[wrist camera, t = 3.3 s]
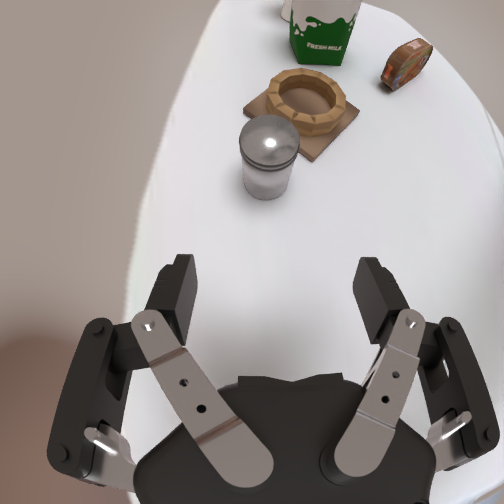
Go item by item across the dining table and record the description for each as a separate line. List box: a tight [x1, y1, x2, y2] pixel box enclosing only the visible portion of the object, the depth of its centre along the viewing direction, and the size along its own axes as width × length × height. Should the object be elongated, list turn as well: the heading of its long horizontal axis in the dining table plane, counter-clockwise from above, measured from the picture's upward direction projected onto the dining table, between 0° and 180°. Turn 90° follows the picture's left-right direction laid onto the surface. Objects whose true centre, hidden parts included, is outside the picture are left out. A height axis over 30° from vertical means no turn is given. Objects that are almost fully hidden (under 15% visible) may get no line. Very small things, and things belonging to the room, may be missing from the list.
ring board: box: [243, 68, 360, 162], centre depth 30 cm, size 11×11×4 cm
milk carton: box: [290, 0, 362, 66], centre depth 24 cm, size 9×9×20 cm
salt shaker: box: [239, 115, 300, 200], centre depth 26 cm, size 5×5×9 cm
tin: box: [381, 38, 433, 90], centre depth 30 cm, size 15×3×8 cm, turn 132°
